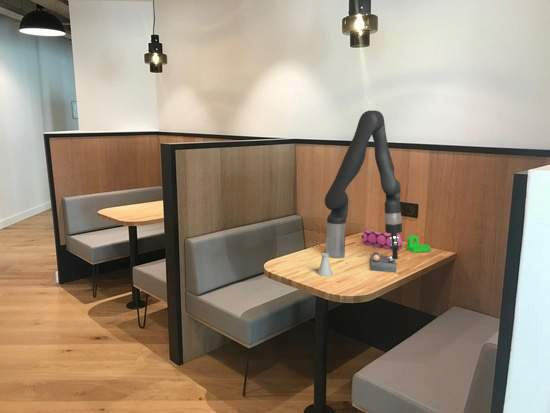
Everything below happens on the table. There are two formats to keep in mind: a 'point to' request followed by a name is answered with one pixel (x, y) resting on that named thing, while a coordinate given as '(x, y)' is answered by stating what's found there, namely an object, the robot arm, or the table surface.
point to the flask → (325, 266)
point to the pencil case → (379, 239)
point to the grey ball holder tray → (383, 264)
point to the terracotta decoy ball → (376, 258)
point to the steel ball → (390, 258)
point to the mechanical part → (416, 245)
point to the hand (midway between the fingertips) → (395, 258)
